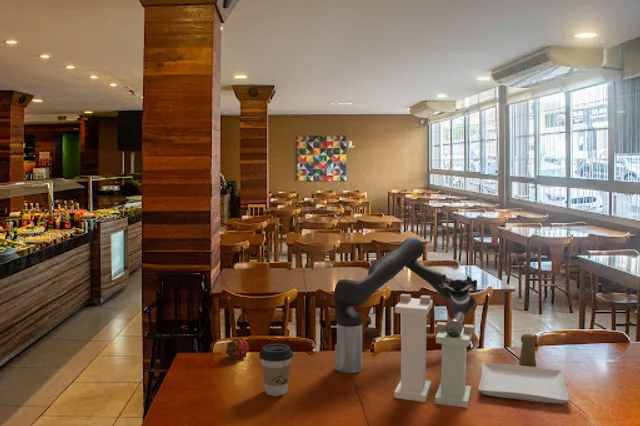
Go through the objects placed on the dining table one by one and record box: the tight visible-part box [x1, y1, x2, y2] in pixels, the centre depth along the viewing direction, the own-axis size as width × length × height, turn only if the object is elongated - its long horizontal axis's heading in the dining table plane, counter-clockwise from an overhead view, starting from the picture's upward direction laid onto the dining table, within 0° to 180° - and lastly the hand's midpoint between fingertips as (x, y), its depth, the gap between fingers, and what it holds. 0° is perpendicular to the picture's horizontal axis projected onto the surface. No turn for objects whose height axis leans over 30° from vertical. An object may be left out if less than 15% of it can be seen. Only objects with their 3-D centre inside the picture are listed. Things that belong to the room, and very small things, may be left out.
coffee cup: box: [258, 343, 294, 397], centre depth 187 cm, size 11×11×15 cm
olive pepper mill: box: [518, 333, 537, 367], centre depth 213 cm, size 6×6×11 cm
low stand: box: [434, 321, 475, 409], centre depth 182 cm, size 12×13×24 cm
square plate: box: [478, 362, 570, 405], centre depth 190 cm, size 27×27×4 cm
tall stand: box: [393, 293, 434, 403], centre depth 185 cm, size 10×13×32 cm
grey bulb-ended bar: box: [445, 312, 465, 337], centre depth 185 cm, size 20×5×5 cm, turn 161°
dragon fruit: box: [225, 337, 250, 360], centre depth 221 cm, size 8×8×12 cm
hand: (455, 277), depth 207 cm, fingers open, 8 cm apart
